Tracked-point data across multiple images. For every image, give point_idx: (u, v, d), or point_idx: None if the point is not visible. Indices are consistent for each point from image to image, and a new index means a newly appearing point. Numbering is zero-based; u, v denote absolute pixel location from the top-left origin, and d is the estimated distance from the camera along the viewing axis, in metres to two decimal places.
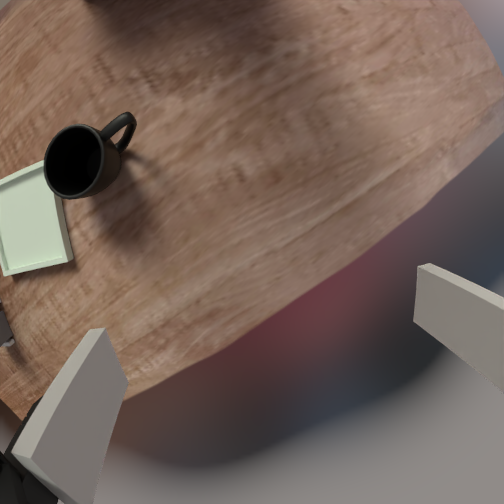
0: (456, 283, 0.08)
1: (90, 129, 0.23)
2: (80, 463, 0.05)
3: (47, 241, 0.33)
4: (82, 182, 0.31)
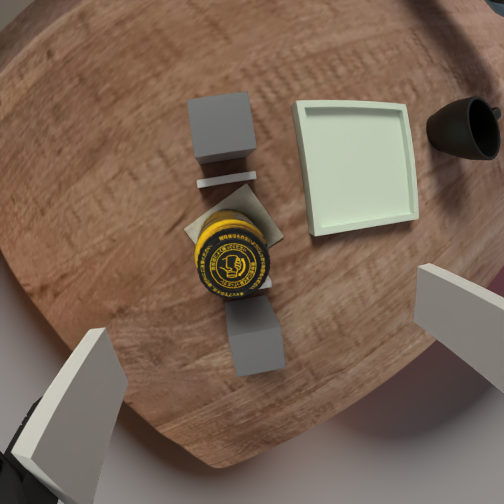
0: (456, 283, 0.08)
1: (491, 109, 0.22)
2: (80, 463, 0.05)
3: (392, 194, 0.32)
4: None
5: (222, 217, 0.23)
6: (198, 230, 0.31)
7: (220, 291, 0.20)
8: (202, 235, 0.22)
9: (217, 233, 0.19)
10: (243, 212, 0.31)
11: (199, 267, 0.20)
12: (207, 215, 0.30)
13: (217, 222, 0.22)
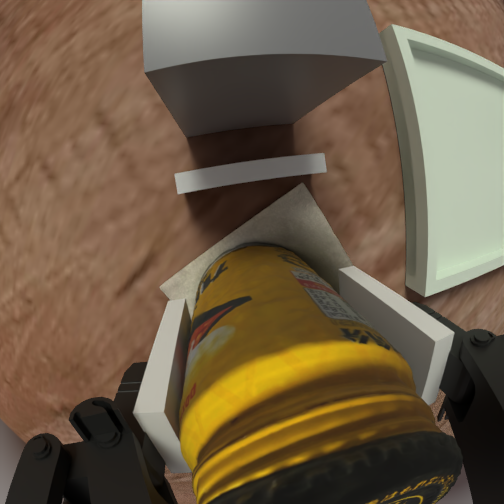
0: (367, 287, 0.10)
1: None
2: None
3: None
4: None
5: (275, 312, 0.06)
6: (192, 289, 0.13)
7: None
8: (204, 406, 0.05)
9: (299, 499, 0.02)
10: (294, 249, 0.14)
11: None
12: (212, 256, 0.13)
13: (266, 359, 0.05)
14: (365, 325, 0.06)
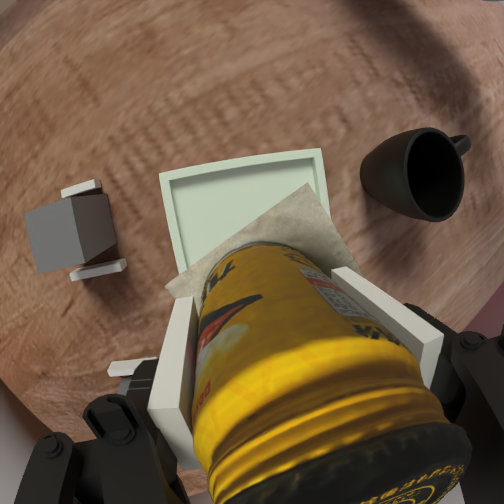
0: (358, 288, 0.10)
1: (452, 143, 0.19)
2: None
3: None
4: None
5: (287, 310, 0.06)
6: (197, 288, 0.14)
7: None
8: (220, 403, 0.05)
9: (323, 491, 0.02)
10: (299, 248, 0.14)
11: None
12: (217, 255, 0.13)
13: (282, 355, 0.05)
14: (375, 322, 0.06)
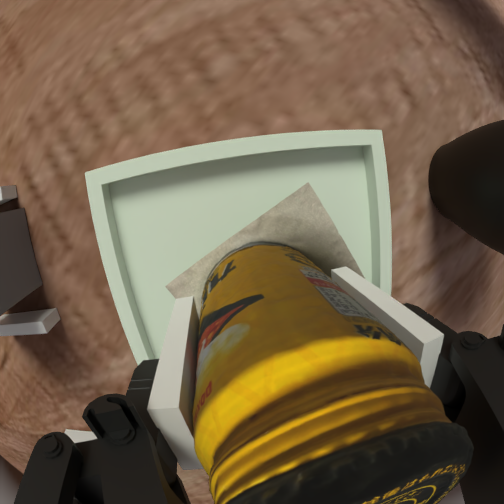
0: (358, 287, 0.10)
1: None
2: None
3: None
4: None
5: (289, 310, 0.06)
6: (198, 288, 0.14)
7: None
8: (221, 403, 0.05)
9: (325, 491, 0.02)
10: (299, 248, 0.14)
11: None
12: (218, 255, 0.13)
13: (284, 355, 0.05)
14: (376, 322, 0.06)
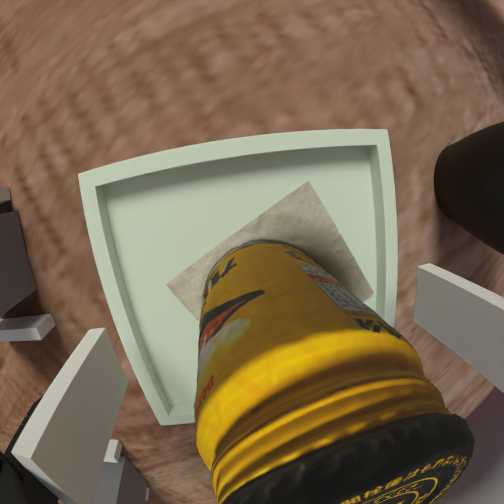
0: (456, 283, 0.08)
1: None
2: (80, 463, 0.05)
3: None
4: None
5: (290, 304, 0.06)
6: (198, 286, 0.14)
7: None
8: (224, 396, 0.05)
9: (328, 480, 0.02)
10: (299, 246, 0.14)
11: None
12: (218, 253, 0.13)
13: (285, 347, 0.05)
14: (376, 316, 0.06)
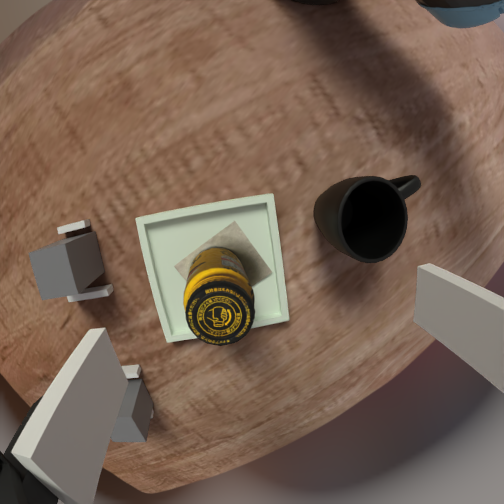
0: (456, 283, 0.08)
1: (395, 188, 0.24)
2: (80, 463, 0.05)
3: (255, 297, 0.33)
4: None
5: (209, 263, 0.24)
6: (188, 267, 0.31)
7: (208, 339, 0.21)
8: (190, 283, 0.22)
9: (203, 286, 0.20)
10: (232, 249, 0.31)
11: (187, 318, 0.20)
12: (196, 252, 0.31)
13: (204, 271, 0.22)
14: (233, 267, 0.24)
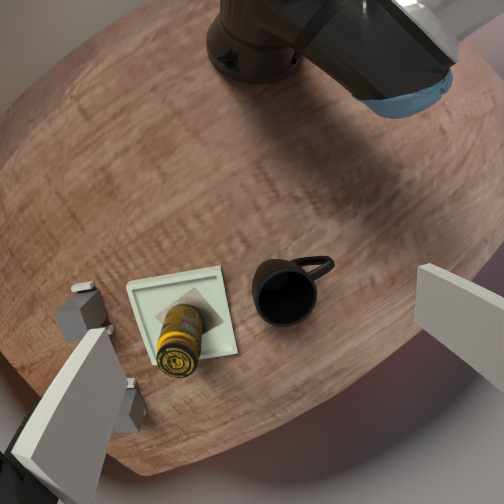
0: (456, 283, 0.08)
1: (305, 275, 0.35)
2: (80, 463, 0.05)
3: (212, 336, 0.45)
4: (261, 295, 0.43)
5: (172, 326, 0.36)
6: (164, 316, 0.43)
7: (170, 374, 0.32)
8: (160, 339, 0.34)
9: (165, 346, 0.32)
10: (193, 305, 0.43)
11: (157, 362, 0.32)
12: (169, 307, 0.43)
13: (167, 333, 0.34)
14: (187, 330, 0.35)
